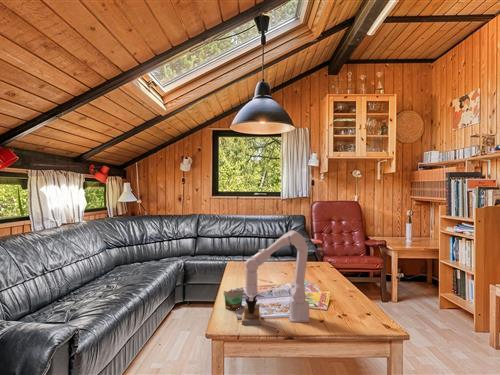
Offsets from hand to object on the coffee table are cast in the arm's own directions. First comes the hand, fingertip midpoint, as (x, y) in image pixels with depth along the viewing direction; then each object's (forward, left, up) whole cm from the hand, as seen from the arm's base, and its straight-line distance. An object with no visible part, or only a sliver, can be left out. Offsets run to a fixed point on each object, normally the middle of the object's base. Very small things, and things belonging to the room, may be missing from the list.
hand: (251, 310), depth 161 cm
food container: (+9, -15, -5) cm, 18 cm away
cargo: (0, 0, +2) cm, 2 cm away
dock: (0, 0, -5) cm, 5 cm away
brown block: (0, 0, -3) cm, 3 cm away
